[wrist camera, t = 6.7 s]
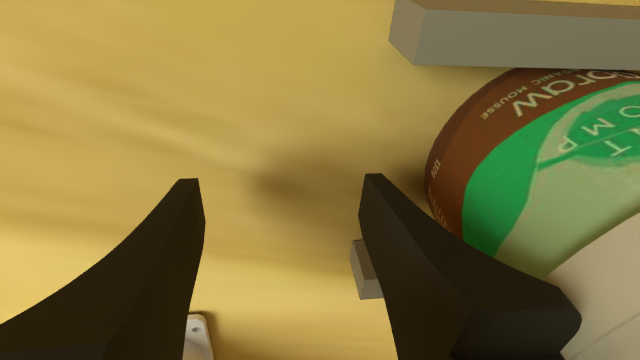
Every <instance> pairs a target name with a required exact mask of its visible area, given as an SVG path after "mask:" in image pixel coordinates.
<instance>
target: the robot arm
mask: <svg viewBox="0 0 640 360" xmlns="http://www.w3.org/2000/svg"><path fill="white" fill-rule="evenodd" d="M358 217H359V222H360V227H361V231H362V236H363V240H364V243H365V245H366V248H367V251H368V254H369V257H370V260H371V262H372V265H373V268H374V271H375V273H376V276H377V279H378V282H379V284H380V287H381V290H382V293H383V296H384V300H385V304H386V308H387V312H388V316H389V320H390V324H391V328H392V333H393V337H394V342H395V346H396V351H397V356H398V360H565V359H564V358H563V356H562V355H561V353H560V351H561V350H562V349H563V348H564V347H565V346H566V345H567V344H568V342H569V341H570V340H571V339H572V338H573V337H574V336H575V335H576V333H577V332H578V330H579V329H580V326H581V322H582V317H581V314H580V313H579V311H578V310H577V309H576V308H575V306H574V305H573V304H572V303H571V301H570V300H569V299H568V298H567V296H566V295H565V294H564V293H563V291H562V290H561V289H560V288H559V287H557V286H555V285H553V284H550V283H548V282H545V281H543V280H540V279H538V278H535V277H533V276H530V275H528V274H526V273H523V272H521V271H519V270H517V269H515V268H513V267H511V266H508V265H506V264H504V263H502V262H500V261H498V260H496V259H494V258H493V257H491V256H489V255H487V254H485V253H483V252H482V251H480V250H478V249H476V248H475V247H473V246H471V245H470V244H468V243H466V242H465V241H463V240H462V239H460V238H459V237H457V236H456V235H454V234H453V233H451V232H450V231H448V230H447V229H445V228H444V227H443V226H441V225H440V224H439V223H437V222H436V221H435V220H433V219H432V218H431V217H430V216H428V215H427V214H426V213H425V212H423V211H422V210H421V209H420V208H419V207H418V206H416V205H415V204H414V203H413V202H412V201H411V200H410V199H409V198H407V197H406V196H405V195H404V194H403V193H402V192H401V191H400V190H399V189H398V188H397V187H396V186H395V185H393V184H392V183H391V182H390V181H389V180H388V179H387V178H386V177H385V176H384V175H383V174H382V173H376V174H365V179H364V185H363V191H362V196H361V202H360V208H359V213H358ZM204 234H205V216H204V210H203V205H202V199H201V193H200V187H199V181H198V178H191V179H179V180H178V181H177V182H176V183H175V184H174V185H173V187H172V188H171V189H170V190H169V192H168V193H167V194H166V195H165V196H164V198H163V199H162V200H161V201H160V202H159V203H158V205H157V206H156V207H155V208H154V209H153V210H152V211H151V213H150V214H149V215H148V216H147V217H146V218H145V219H144V220H143V221H142V222H141V223H140V224H139V225H138V226H137V227H136V228H135V229H134V230H133V231H132V232H131V233H130V234H129V235H128V236H127V237H126V238H125V239H124V240H123V241H122V242H121V243H120V244H119V245H118V246H117V247H116V248H114V249H113V250H112V251H111V252H110V253H109V254H107V255H106V256H105V257H104V258H103V259H101V260H100V261H99V262H98V263H96V264H95V265H93V266H92V267H91V268H89V269H88V270H87V271H85V272H84V273H83V274H81V275H80V276H78V277H77V278H76V279H74V280H73V281H72V282H70V283H69V284H67V285H66V286H64V287H63V288H61V289H60V290H58V291H57V292H55V293H54V294H52V295H50V296H49V297H47V298H46V299H44V300H42V301H41V302H39V303H37V304H36V305H34V306H32V307H31V308H29V309H27V310H26V311H24V312H22V313H20V314H18V315H17V316H15V317H13V318H11V319H9V320H8V321H6V322H4V323H2V324H0V360H214V356H213V351H212V347H211V342H210V337H209V333H208V328H207V323H206V319H205V317H204V316H202V315H200V314H190V315H188V312H189V307H190V302H191V298H192V293H193V289H194V285H195V281H196V276H197V272H198V268H199V263H200V259H201V255H202V250H203V243H204Z"/></svg>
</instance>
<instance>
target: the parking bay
mask: <svg viewBox="0 0 640 360" xmlns="http://www.w3.org/2000/svg"><path fill="white" fill-rule="evenodd" d="M389 42H390V43H391V44H392V45H393V46H394V47H395V48H396V49H397V50H399V51H400V52H401V53H402V54H403V55H404V56H405V57H406V58H407V59H408V60H409V61H410V62H411V63H412V64H413V65H441V66H483V67H525V68H567V69H608V70H640V6H622V5H604V4H586V3H568V2H550V1H532V0H396V1H395V7H394V13H393V18H392V24H391V30H390V35H389ZM350 263H351V267H352V271H353V275H354V278H355V282H356V286H357V290H358V294H359V298H360V300H364V299H377V298H384V296H383V293H382V290H381V287H380V284H379V282H378V279H377V276H376V273H375V271H374V268H373V265H372V262H371V260H370V257H369V254H368V251H367V248H366V245H365V243H364V240H356V241H353V244H352V250H351V256H350Z"/></svg>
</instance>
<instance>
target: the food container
mask: <svg viewBox="0 0 640 360" xmlns="http://www.w3.org/2000/svg"><path fill="white" fill-rule="evenodd" d="M424 185H425V194H426V197H427V200H428V203H429V206H430V209H431V211H432V213H433V216H434V218H435V221H436V222H437V223H439V224H440V225H441V226H443V227H444V228H445V229H447V230H448V231H450V232H451V233H453V234H454V235H456V236H457V237H459V238H460V239H462V240H463V241H465V242H466V243H468V244H470V245H471V246H473V247H475V248H476V249H478V250H480V251H482V252H483V253H485V254H487V255H489V256H491V257H493V258H494V259H496V260H498V261H500V262H502V263H504V264H506V265H508V266H511V267H513V268H515V269H517V270H519V271H521V272H523V273H526V274H528V275H530V276H533V277H535V278H538V279H540V280H543V281H545V282H548V283H550V284H553V285H555V286H557V287H559V288H560V289H561V290H562V291H563V293H564V294H565V295H566V296H567V298H568V299H569V300H570V301H571V303H572V304H573V305H574V306H575V308H576V309H577V310H578V311H579V313H580V314H581V317H582V322H581V326H580V329H579V330H578V332H577V333H576V335H575V336H574V337H573V338H572V339H571V340H570V341H569V342H568V344H567V345H566V346H565V347H564V348H563V349H562V350H561V351H560V353H561V355H562V356H563V358H564V359H565V360H640V75H638V74H634V73H631V72H628V71H625V70H608V69H567V68H525V67H517V68H514V69H512V70H510V71H508V72H505V73H504V74H502V75H500V76H499V77H497V78H495V79H494V80H492V81H490V82H489V83H487V84H486V85H485V86H483V87H482V88H481V89H479V90H478V91H477V92H475V93H474V94H473V95H472V96H471V97H469V98H468V99H467V100H466V101H465V102H464V103H463V104H462V105H461V106H460V107H459V108H458V109H457V110H456V112H455V113H454V114H453V115H452V116H451V118H450V119H449V120H448V121H447V123H446V124H445V125H444V127H443V129H442V130H441V132H440V134H439V135H438V137H437V138H436V140H435V142H434V145H433V147H432V149H431V151H430V154H429V157H428V161H427V164H426V168H425V178H424Z"/></svg>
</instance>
